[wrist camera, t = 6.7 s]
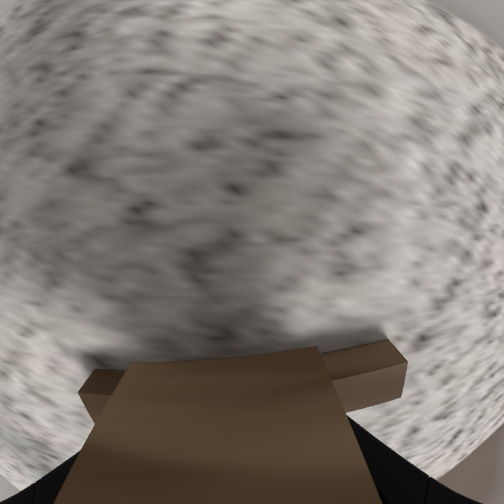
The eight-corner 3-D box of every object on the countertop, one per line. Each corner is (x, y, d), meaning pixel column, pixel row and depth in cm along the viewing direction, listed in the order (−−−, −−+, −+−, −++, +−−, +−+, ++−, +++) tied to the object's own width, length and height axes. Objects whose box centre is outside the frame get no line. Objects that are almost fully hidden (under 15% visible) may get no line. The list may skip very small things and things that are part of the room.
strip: (384, 373, 12) (401, 397, 10) (108, 399, 12) (94, 423, 10) (388, 339, 12) (407, 361, 10) (94, 369, 12) (77, 392, 10)
